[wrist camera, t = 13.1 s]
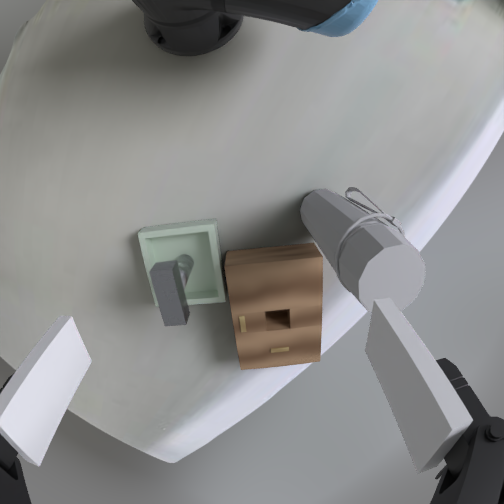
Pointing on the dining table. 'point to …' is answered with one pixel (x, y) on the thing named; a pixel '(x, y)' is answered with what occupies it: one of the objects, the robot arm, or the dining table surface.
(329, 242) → the water bottle
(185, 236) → the tray
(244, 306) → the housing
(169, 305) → the t key
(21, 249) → the dining table surface
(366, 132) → the dining table surface
